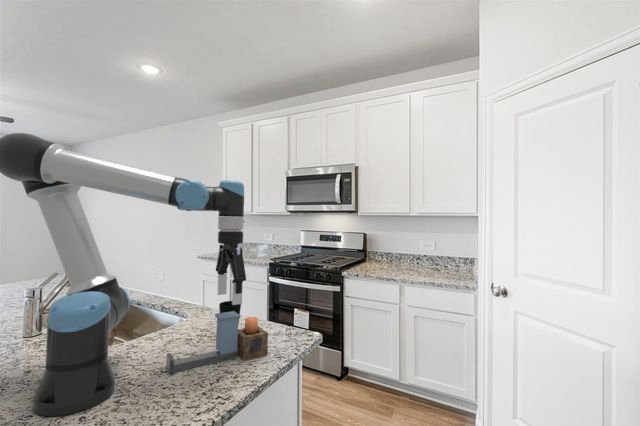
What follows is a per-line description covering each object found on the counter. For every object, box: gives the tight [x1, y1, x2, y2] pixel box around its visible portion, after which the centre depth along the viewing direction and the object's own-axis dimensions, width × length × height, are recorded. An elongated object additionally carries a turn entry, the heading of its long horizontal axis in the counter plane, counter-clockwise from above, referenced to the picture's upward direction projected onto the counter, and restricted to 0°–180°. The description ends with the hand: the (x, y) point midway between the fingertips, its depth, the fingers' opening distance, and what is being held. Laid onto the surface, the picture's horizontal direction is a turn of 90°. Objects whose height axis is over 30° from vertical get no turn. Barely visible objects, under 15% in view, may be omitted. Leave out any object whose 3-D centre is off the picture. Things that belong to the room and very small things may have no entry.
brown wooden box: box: [237, 325, 269, 362], centre depth 100 cm, size 8×8×7 cm
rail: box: [165, 349, 240, 376], centre depth 93 cm, size 21×5×4 cm, turn 126°
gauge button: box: [244, 316, 259, 334], centre depth 100 cm, size 4×4×4 cm
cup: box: [218, 300, 242, 326], centre depth 113 cm, size 8×8×12 cm
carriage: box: [214, 311, 241, 355], centre depth 97 cm, size 6×6×11 cm
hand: (229, 299), depth 97 cm, fingers open, 13 cm apart
